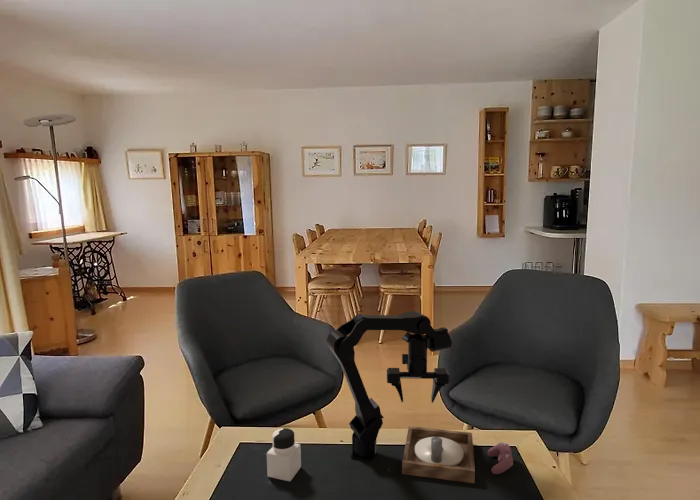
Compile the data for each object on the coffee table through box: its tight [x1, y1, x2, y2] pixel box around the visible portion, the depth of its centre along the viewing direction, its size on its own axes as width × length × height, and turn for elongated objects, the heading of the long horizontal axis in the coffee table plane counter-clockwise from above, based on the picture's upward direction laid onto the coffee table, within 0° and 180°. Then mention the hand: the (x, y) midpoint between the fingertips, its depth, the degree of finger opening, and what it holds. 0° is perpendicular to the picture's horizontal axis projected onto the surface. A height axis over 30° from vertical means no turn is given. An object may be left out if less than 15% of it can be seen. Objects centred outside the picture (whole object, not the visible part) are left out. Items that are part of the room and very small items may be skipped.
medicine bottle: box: [266, 427, 302, 482], centre depth 126 cm, size 7×7×12 cm
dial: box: [415, 437, 464, 466], centre depth 132 cm, size 14×14×7 cm
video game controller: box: [487, 441, 514, 475], centre depth 128 cm, size 10×5×7 cm, turn 170°
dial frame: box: [401, 425, 476, 484], centre depth 132 cm, size 19×19×4 cm
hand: (417, 401), depth 139 cm, fingers open, 9 cm apart
